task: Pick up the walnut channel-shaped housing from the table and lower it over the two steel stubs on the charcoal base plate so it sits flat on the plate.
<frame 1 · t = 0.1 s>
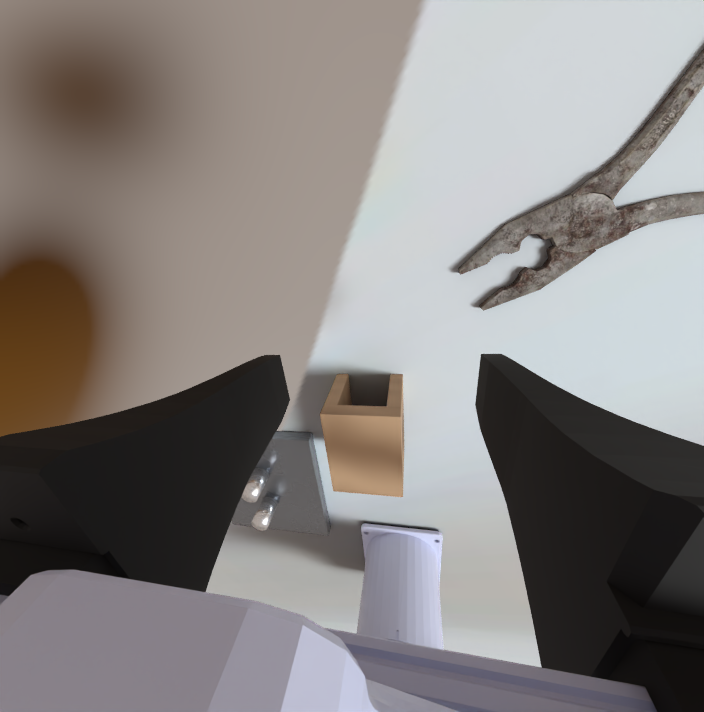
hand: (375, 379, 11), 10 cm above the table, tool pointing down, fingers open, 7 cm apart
base plate: (270, 479, 30), on the table
pliers: (668, 192, 15), on the table
housing: (372, 411, 24), on the table
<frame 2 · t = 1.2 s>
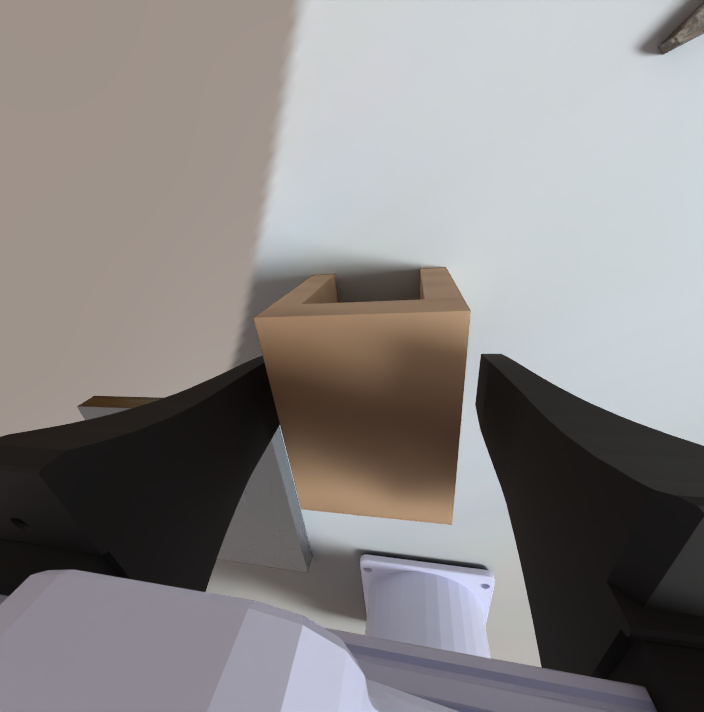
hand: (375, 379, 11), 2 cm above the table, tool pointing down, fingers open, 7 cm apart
base plate: (213, 483, 19), on the table
housing: (380, 354, 13), on the table
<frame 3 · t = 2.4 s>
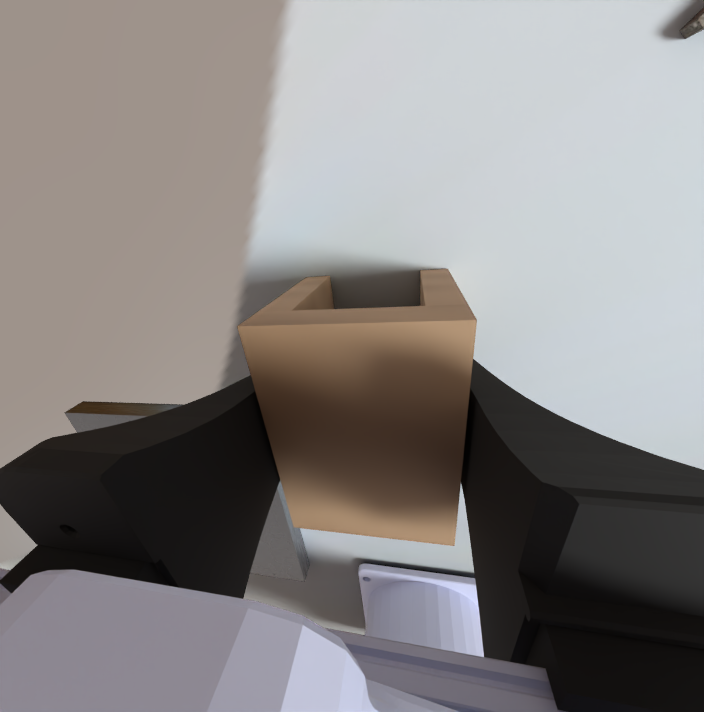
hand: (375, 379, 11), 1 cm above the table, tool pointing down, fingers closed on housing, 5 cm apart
base plate: (207, 491, 18), on the table
housing: (378, 360, 12), on the table, touching gripper
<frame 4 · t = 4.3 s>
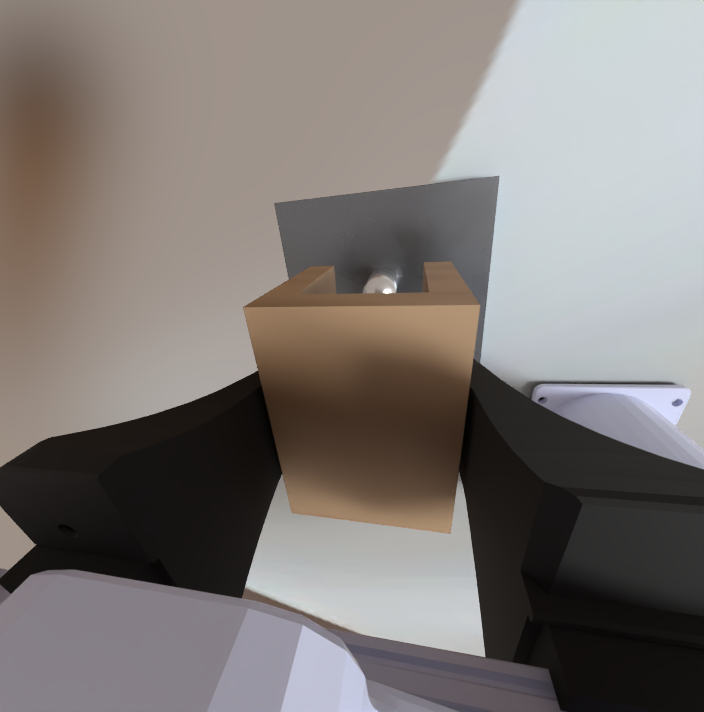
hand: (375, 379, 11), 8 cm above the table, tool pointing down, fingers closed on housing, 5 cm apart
base plate: (386, 311, 18), on the table
housing: (379, 352, 12), point 7 cm above the table, touching gripper
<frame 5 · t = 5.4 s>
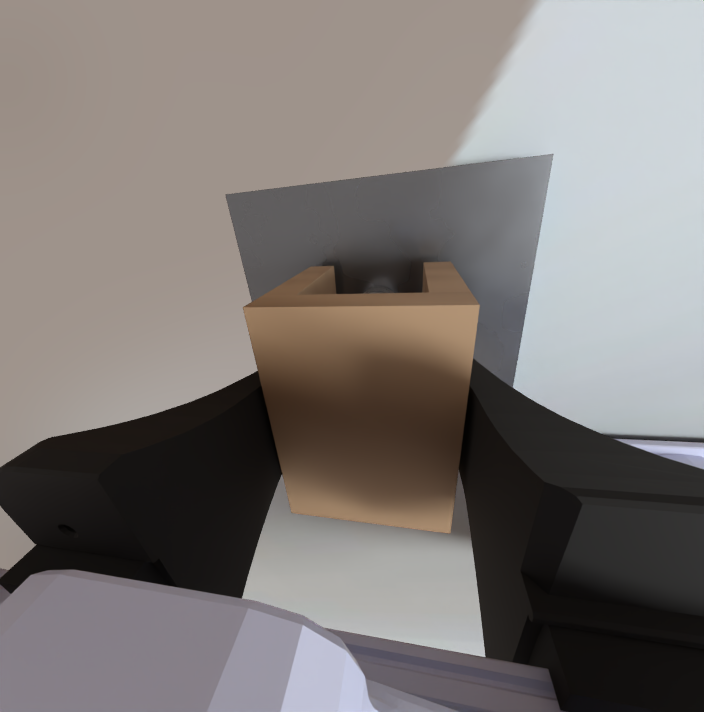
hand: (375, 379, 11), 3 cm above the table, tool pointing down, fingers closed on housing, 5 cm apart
base plate: (383, 340, 14), on the table
housing: (379, 352, 12), point 2 cm above the table, touching gripper
when the fingers open (3 cm above the table, at t = 6.2 s): housing stays where it is, resting on base plate.
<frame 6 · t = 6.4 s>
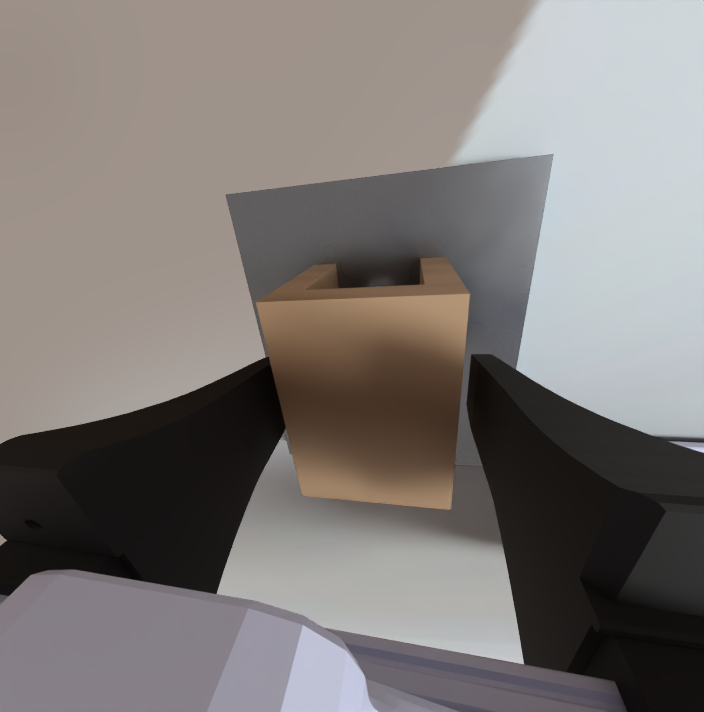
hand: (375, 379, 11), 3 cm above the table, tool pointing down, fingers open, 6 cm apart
base plate: (383, 340, 14), on the table
housing: (381, 345, 13), point 1 cm above the table, touching base plate
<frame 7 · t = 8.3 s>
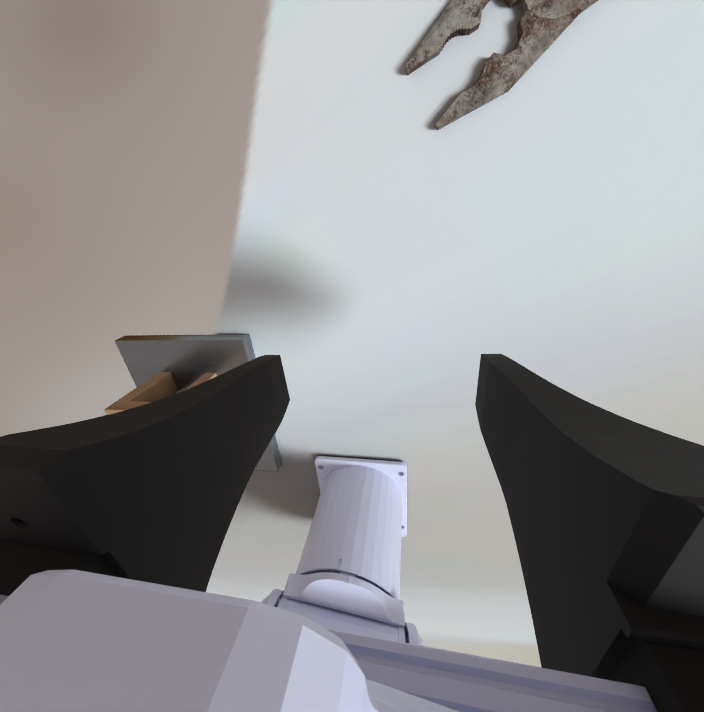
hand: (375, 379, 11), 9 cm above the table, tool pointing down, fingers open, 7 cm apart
base plate: (209, 403, 26), on the table
housing: (201, 408, 25), point 1 cm above the table, touching base plate
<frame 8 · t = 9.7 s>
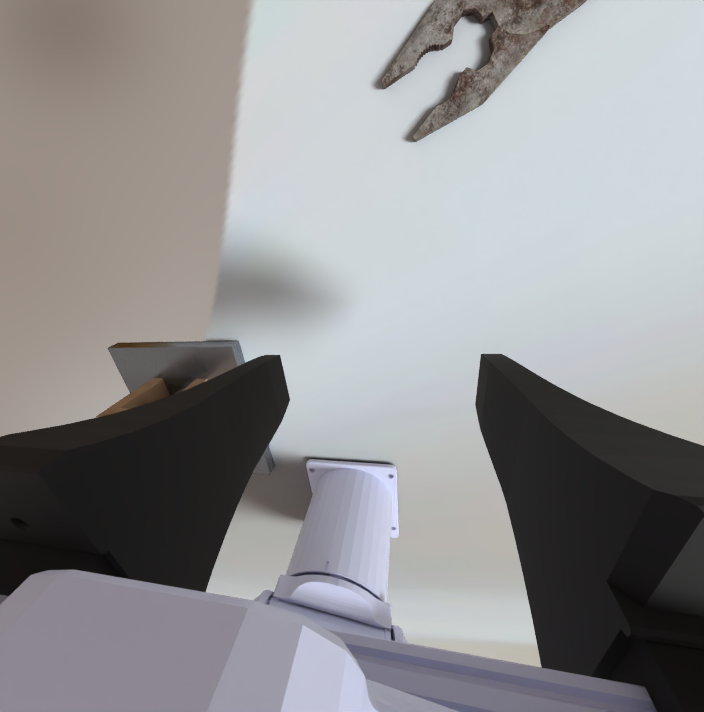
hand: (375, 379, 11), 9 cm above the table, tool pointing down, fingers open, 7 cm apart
base plate: (201, 408, 26), on the table
housing: (193, 413, 25), point 1 cm above the table, touching base plate
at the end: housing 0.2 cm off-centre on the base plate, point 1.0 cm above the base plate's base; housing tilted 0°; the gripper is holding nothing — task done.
